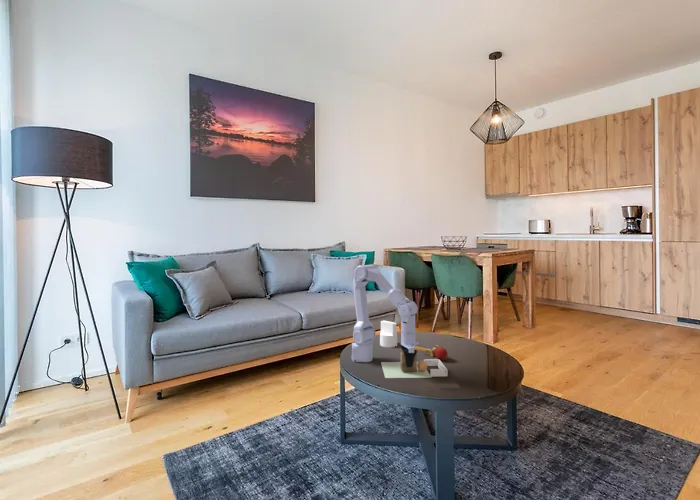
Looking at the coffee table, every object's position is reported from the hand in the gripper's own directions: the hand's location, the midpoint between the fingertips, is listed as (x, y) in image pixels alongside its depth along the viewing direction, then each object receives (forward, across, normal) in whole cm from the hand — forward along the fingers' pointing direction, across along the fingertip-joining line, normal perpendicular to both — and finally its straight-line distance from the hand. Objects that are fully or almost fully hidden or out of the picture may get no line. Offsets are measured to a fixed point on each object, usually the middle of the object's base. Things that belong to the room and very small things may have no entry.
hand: (408, 364), depth 138 cm
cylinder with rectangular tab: (+4, +40, +3) cm, 40 cm away
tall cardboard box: (+2, 0, 0) cm, 2 cm away
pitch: (+4, +2, -2) cm, 5 cm away
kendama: (+4, +21, -14) cm, 26 cm away
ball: (0, 0, -6) cm, 6 cm away
